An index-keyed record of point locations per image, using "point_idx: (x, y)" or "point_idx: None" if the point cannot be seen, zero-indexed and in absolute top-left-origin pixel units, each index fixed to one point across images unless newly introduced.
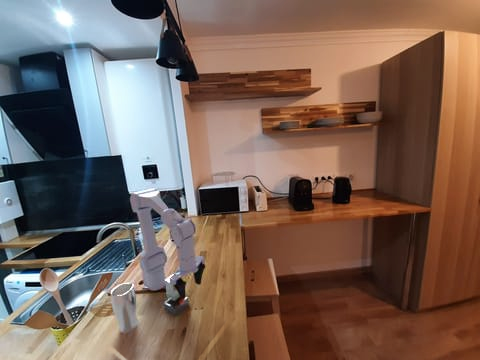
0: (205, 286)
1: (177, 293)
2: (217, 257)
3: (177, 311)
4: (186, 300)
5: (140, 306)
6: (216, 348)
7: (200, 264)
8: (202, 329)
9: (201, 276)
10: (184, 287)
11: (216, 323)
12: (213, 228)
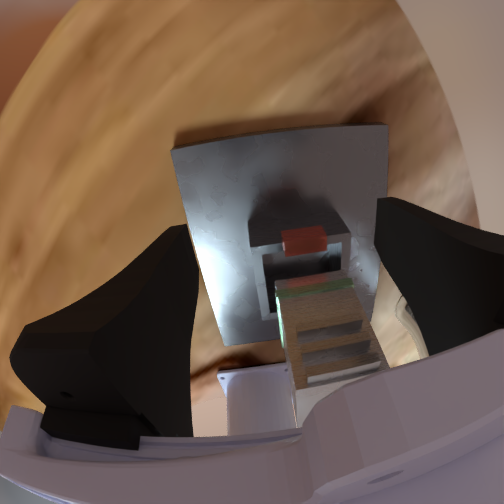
0: (109, 261)
1: (325, 296)
2: (13, 341)
3: (331, 222)
4: (264, 240)
5: None
6: None
7: (76, 417)
8: (302, 48)
9: (138, 264)
10: (471, 237)
11: (231, 14)
12: (7, 415)
